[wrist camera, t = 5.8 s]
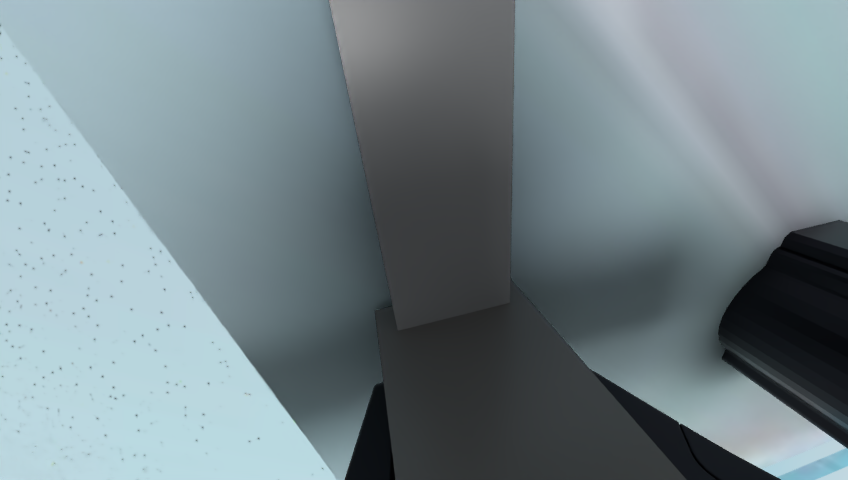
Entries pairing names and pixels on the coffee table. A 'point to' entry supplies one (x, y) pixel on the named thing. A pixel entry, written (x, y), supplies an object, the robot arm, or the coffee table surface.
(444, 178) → the grey angled bracket
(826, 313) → the robot arm
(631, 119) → the coffee table surface
